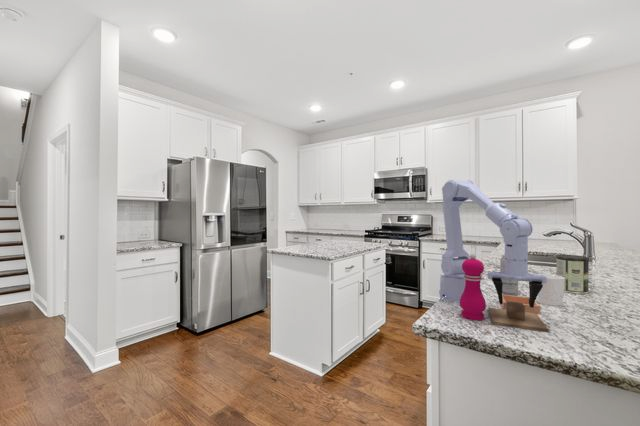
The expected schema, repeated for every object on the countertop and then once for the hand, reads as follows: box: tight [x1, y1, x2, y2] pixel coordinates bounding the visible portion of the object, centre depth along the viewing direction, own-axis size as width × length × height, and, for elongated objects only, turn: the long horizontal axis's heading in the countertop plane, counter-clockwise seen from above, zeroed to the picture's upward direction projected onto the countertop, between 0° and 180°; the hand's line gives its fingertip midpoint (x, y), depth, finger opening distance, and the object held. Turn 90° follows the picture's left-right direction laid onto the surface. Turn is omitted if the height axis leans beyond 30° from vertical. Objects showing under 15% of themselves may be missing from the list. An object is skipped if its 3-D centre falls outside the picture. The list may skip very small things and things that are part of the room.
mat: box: [486, 308, 552, 334], centre depth 89 cm, size 14×14×1 cm
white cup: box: [536, 273, 565, 307], centre depth 105 cm, size 8×8×10 cm
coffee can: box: [555, 254, 590, 295], centre depth 122 cm, size 10×10×14 cm
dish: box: [500, 294, 541, 315], centre depth 100 cm, size 10×10×3 cm
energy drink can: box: [499, 254, 519, 296], centre depth 118 cm, size 6×6×15 cm
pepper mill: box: [459, 253, 487, 321], centre depth 92 cm, size 7×7×20 cm
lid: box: [488, 301, 549, 333], centre depth 89 cm, size 13×13×5 cm
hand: (515, 304), depth 89 cm, fingers open, 7 cm apart
